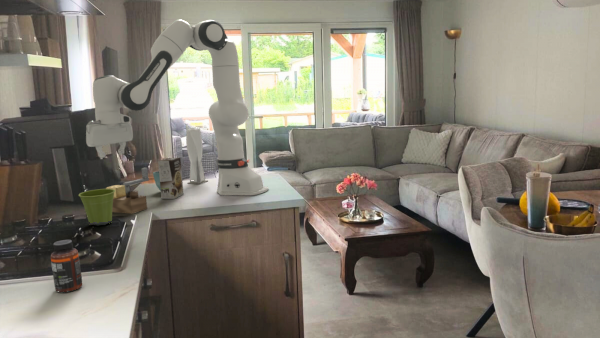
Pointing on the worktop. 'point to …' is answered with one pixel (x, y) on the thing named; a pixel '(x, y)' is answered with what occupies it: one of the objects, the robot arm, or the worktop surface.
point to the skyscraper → (195, 155)
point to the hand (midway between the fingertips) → (112, 155)
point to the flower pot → (157, 179)
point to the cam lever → (136, 181)
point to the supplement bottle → (66, 266)
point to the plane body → (129, 203)
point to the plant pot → (98, 204)
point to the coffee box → (170, 178)
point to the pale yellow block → (118, 190)
